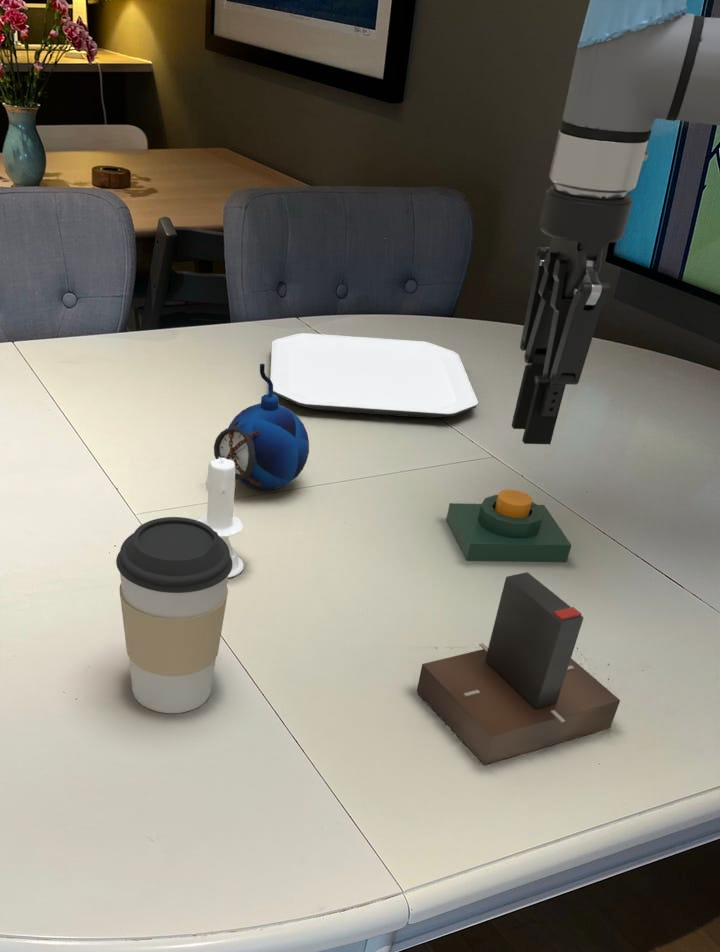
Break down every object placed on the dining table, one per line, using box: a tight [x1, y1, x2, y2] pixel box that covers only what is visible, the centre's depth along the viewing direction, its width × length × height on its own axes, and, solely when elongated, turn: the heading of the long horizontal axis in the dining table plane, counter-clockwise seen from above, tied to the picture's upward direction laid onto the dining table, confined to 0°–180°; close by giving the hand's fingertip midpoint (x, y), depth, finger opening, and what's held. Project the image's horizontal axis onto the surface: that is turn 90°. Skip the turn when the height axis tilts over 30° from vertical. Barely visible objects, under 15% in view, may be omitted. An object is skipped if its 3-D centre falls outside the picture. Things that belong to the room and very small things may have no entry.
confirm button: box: [495, 489, 533, 518], centre depth 106 cm, size 4×4×2 cm
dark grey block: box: [485, 571, 584, 708], centre depth 80 cm, size 7×2×9 cm, turn 24°
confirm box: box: [445, 494, 572, 563], centre depth 108 cm, size 11×9×4 cm
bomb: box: [213, 363, 310, 491], centre depth 112 cm, size 10×11×15 cm
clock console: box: [416, 642, 621, 765], centre depth 84 cm, size 13×11×3 cm
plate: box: [269, 332, 479, 419], centre depth 145 cm, size 29×29×2 cm
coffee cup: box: [115, 516, 233, 714], centre depth 80 cm, size 9×9×15 cm
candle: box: [196, 457, 245, 579], centre depth 97 cm, size 5×5×12 cm
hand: (530, 434), depth 101 cm, fingers open, 3 cm apart
